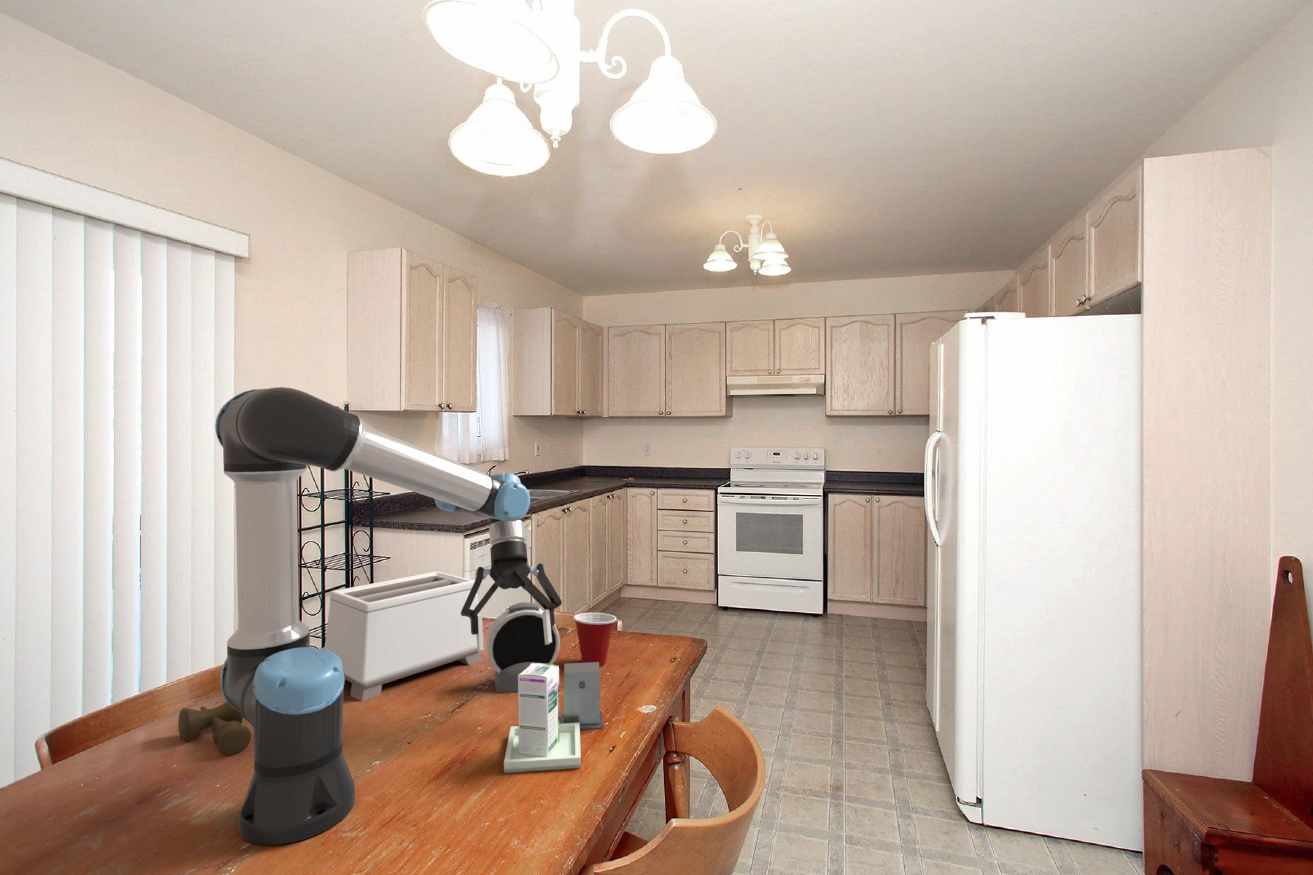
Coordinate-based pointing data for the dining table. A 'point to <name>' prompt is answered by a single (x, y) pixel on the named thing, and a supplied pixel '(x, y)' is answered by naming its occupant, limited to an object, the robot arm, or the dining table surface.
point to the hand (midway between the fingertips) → (515, 647)
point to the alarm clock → (519, 644)
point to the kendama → (216, 727)
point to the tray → (559, 758)
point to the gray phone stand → (582, 695)
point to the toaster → (400, 629)
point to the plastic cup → (594, 636)
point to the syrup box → (538, 709)
